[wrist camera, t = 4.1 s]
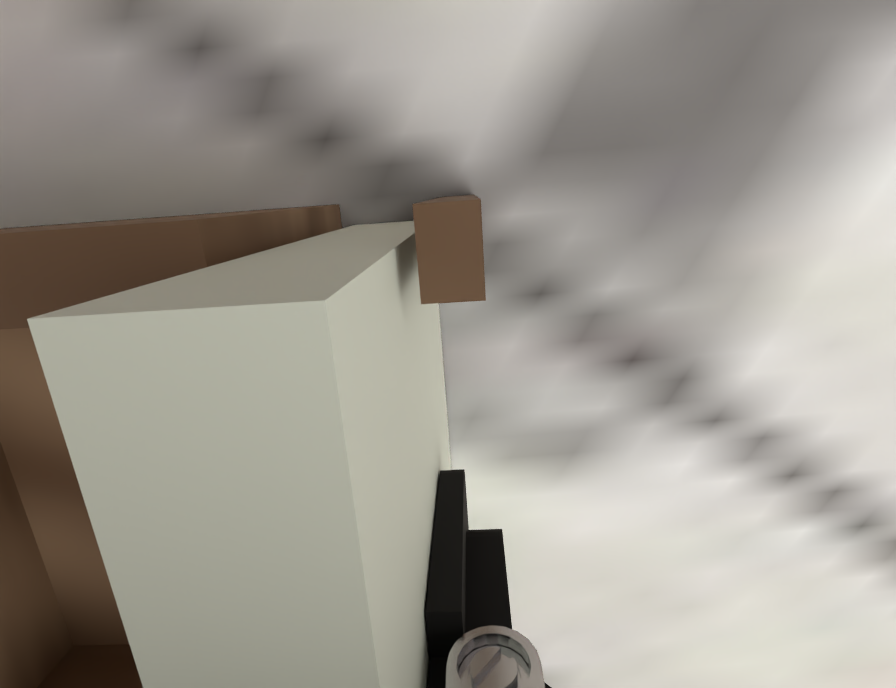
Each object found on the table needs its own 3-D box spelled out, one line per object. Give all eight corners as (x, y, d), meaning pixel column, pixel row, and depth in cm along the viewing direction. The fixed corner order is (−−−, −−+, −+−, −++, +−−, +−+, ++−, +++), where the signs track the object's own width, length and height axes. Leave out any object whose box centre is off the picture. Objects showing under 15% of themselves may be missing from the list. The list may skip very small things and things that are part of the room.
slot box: (-78, 234, 13) (-622, 278, 7) (474, 194, 13) (479, 199, 6) (71, 648, 17) (-176, 934, 11) (497, 638, 17) (516, 942, 10)
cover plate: (354, 225, 13) (27, 318, 3) (432, 219, 13) (325, 300, 3) (402, 630, 17) (313, 1227, 7) (463, 629, 16) (457, 1234, 7)
